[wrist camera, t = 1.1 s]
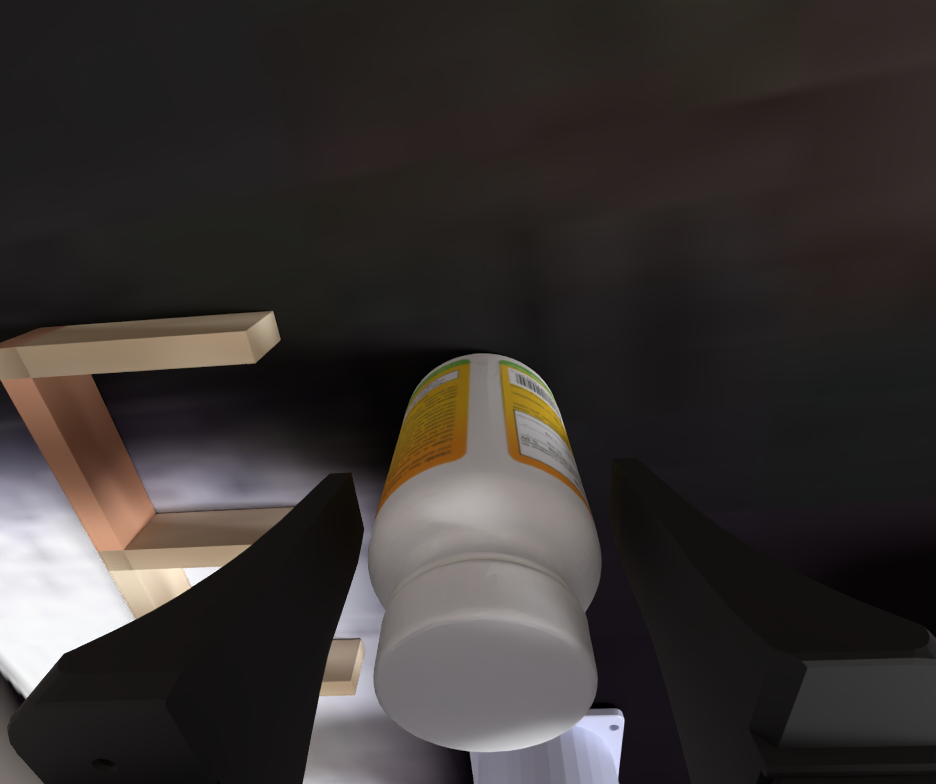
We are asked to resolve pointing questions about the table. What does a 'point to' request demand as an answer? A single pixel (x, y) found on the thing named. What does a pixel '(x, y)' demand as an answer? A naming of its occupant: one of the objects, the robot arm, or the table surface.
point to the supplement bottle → (484, 564)
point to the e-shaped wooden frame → (110, 467)
